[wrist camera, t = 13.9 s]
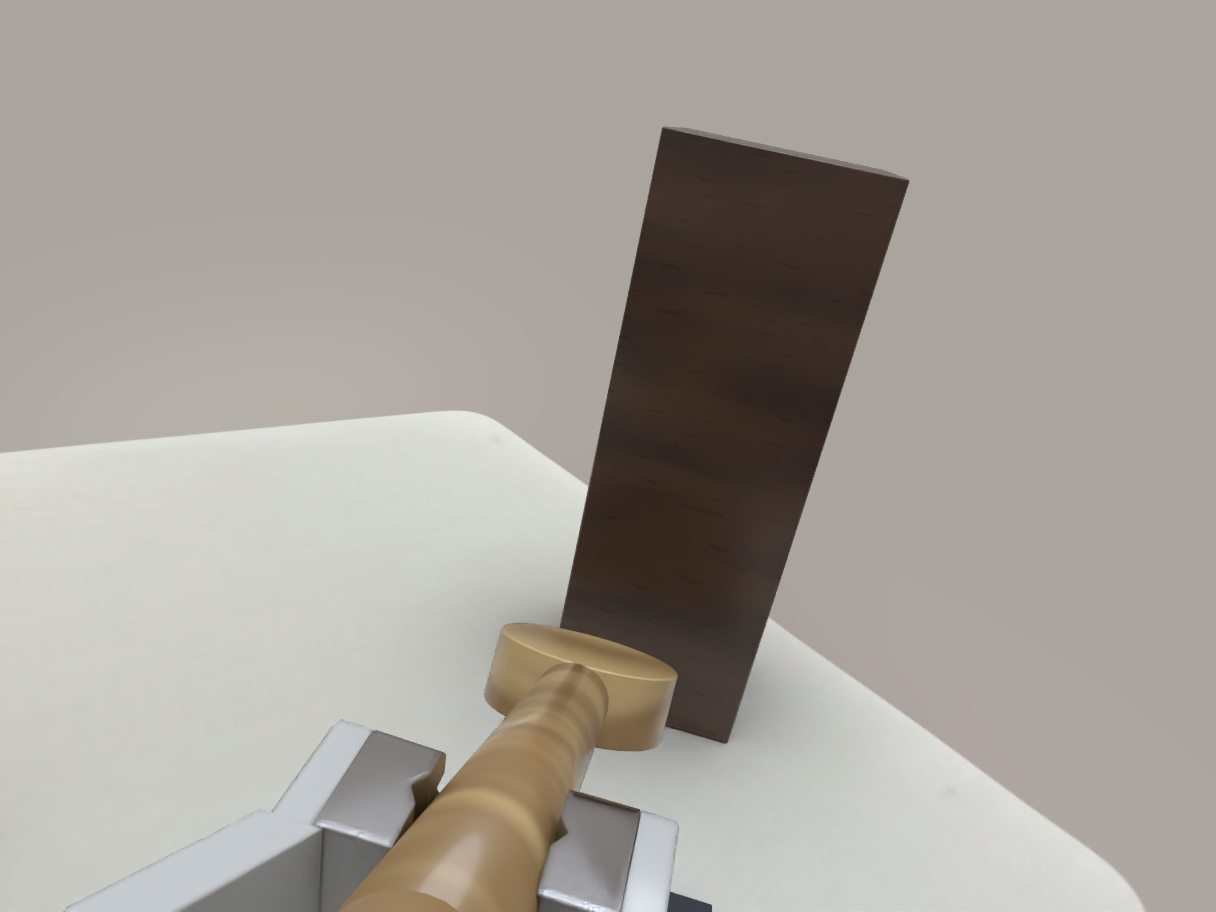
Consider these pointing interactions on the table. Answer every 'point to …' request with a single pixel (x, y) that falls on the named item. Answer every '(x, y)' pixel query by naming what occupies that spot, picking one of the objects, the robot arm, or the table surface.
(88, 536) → the table surface
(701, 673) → the stand
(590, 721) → the spoon
